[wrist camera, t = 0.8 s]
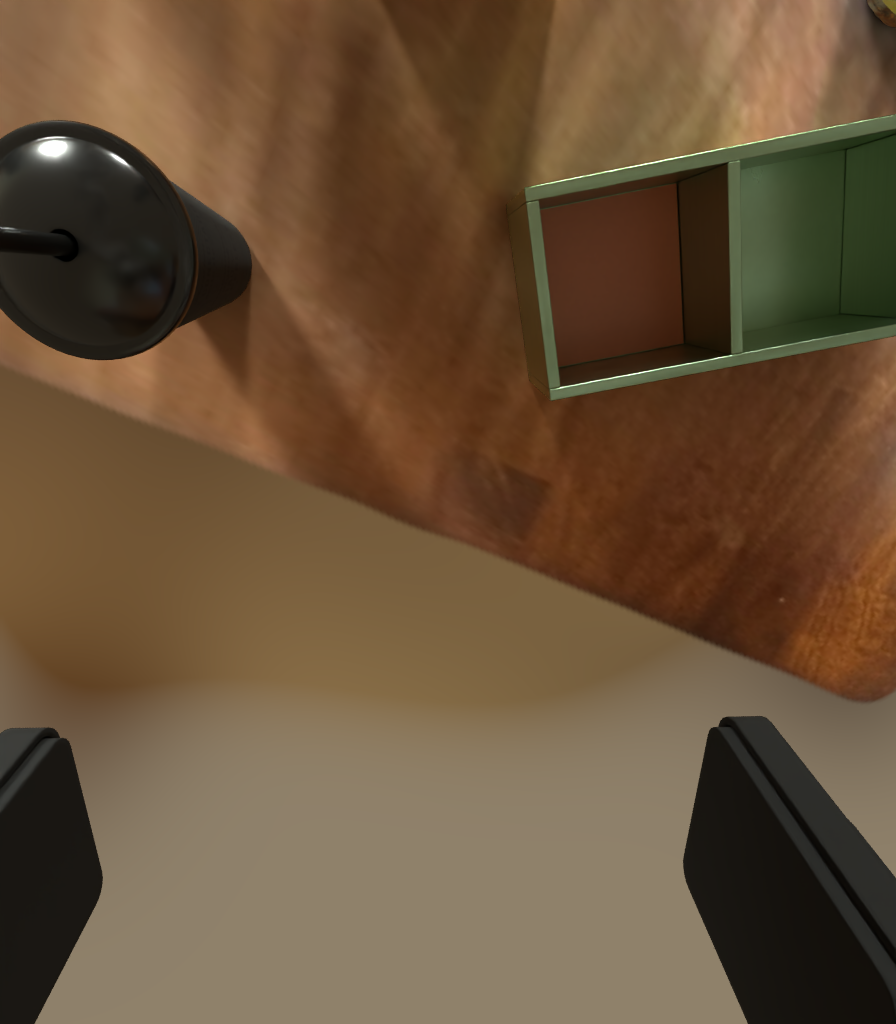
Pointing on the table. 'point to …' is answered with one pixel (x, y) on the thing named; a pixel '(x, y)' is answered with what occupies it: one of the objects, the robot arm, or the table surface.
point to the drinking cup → (106, 244)
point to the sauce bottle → (884, 10)
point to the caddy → (708, 259)
